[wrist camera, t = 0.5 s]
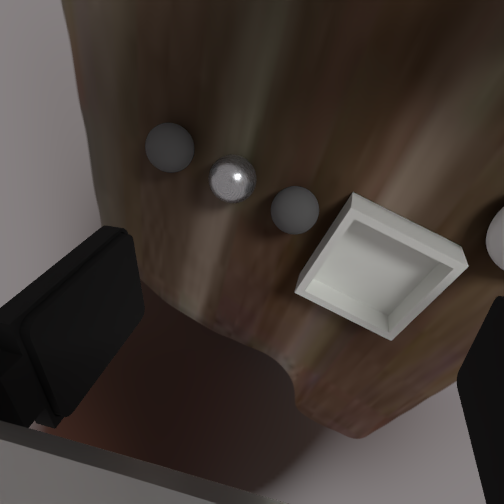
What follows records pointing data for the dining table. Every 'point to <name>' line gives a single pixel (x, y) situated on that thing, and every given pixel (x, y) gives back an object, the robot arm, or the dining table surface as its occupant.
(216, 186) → the steel ball
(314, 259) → the tray
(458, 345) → the dining table surface
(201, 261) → the dining table surface
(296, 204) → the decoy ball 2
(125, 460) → the robot arm
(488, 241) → the flower in vase
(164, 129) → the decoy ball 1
